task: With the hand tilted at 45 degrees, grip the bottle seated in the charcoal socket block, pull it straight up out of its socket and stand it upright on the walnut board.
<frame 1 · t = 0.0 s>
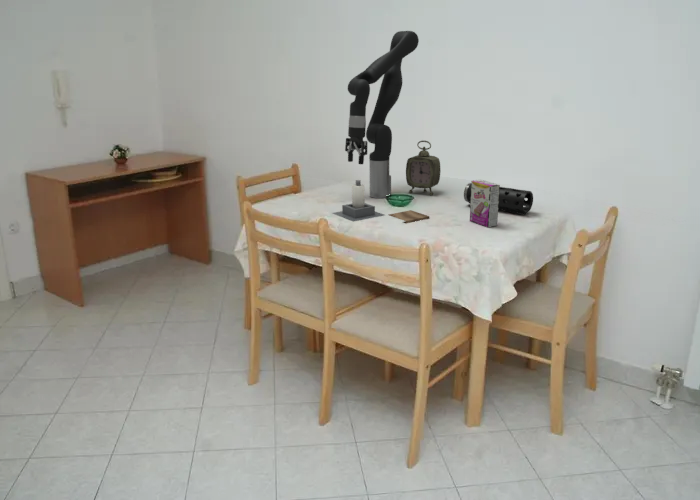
hand: (355, 162, 265), 17 cm above the table, tool pointing down, fingers open, 8 cm apart
candy bar box: (483, 224, 230), on the table
walnut board: (408, 217, 240), on the table
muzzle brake: (496, 210, 250), on the table
bottle: (358, 214, 243), point 1 cm above the table, touching socket block
socket block: (358, 216, 244), on the table
tabletop clock: (423, 193, 281), on the table
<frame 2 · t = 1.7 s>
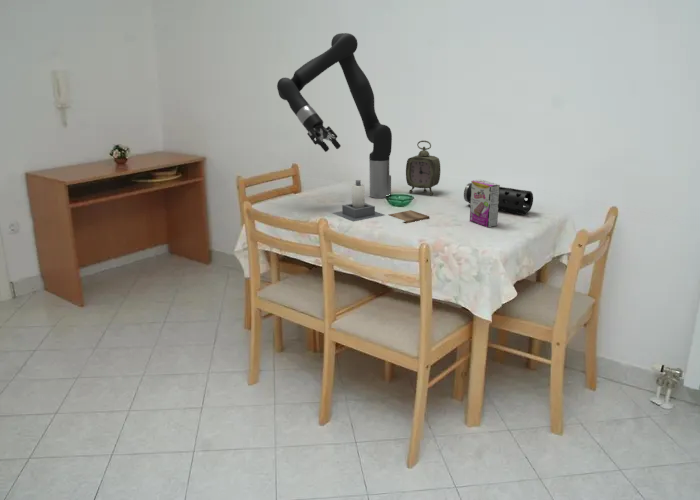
hand: (333, 149, 241), 27 cm above the table, tool tilted 45°, fingers open, 8 cm apart
nothing on the table moved.
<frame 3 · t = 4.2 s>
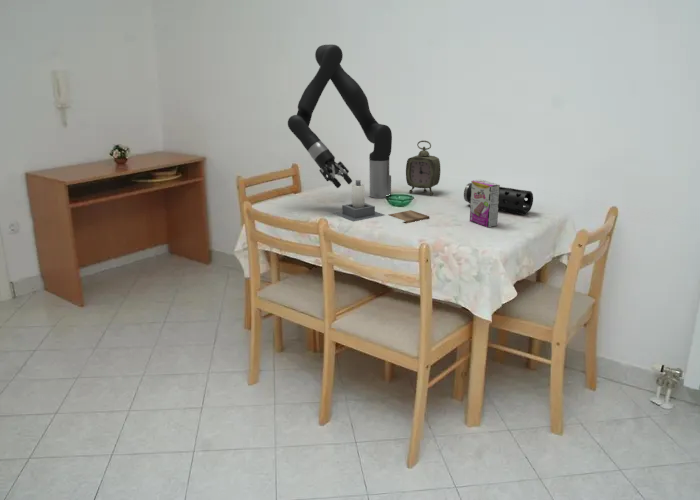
hand: (345, 184, 243), 13 cm above the table, tool tilted 45°, fingers open, 8 cm apart
nothing on the table moved.
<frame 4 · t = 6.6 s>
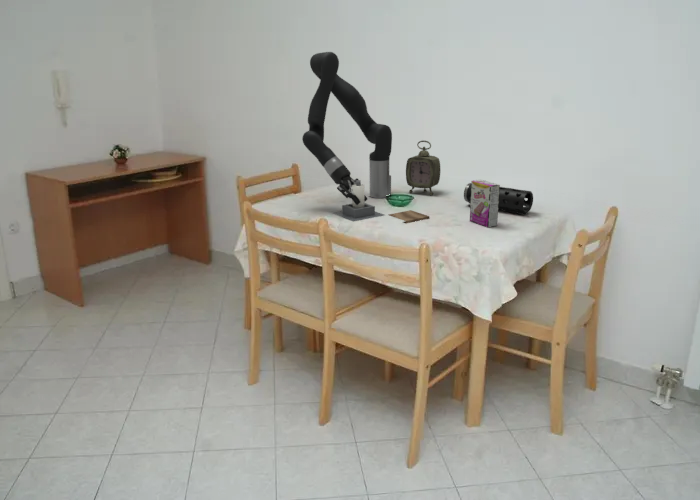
hand: (362, 201, 241), 6 cm above the table, tool tilted 45°, fingers closed on bottle, 5 cm apart
bottle: (358, 214, 243), point 1 cm above the table, touching gripper, socket block
everything else where it was.
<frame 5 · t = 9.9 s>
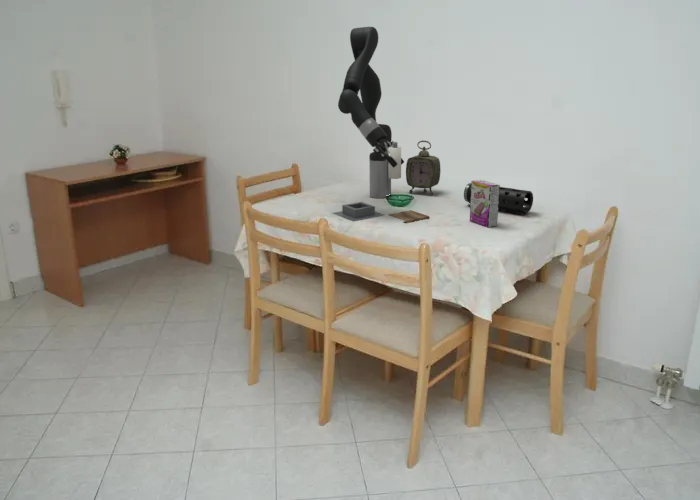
hand: (398, 164, 233), 22 cm above the table, tool tilted 45°, fingers closed on bottle, 5 cm apart
bottle: (394, 177, 236), point 17 cm above the table, touching gripper
everything else where it was.
when the fingers open (8 cm above the table, at t = 13.5 s): bottle drops 1 cm, resting on walnut board.
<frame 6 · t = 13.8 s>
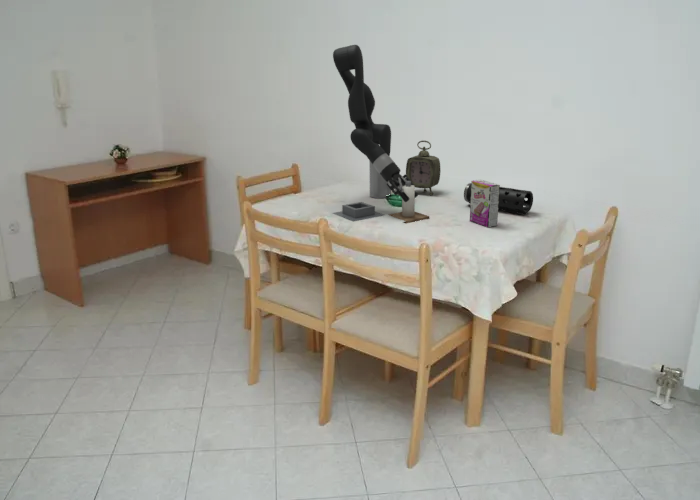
hand: (412, 198, 237), 8 cm above the table, tool tilted 45°, fingers open, 7 cm apart
bottle: (408, 215, 240), point 1 cm above the table, touching walnut board
everything else where it was.
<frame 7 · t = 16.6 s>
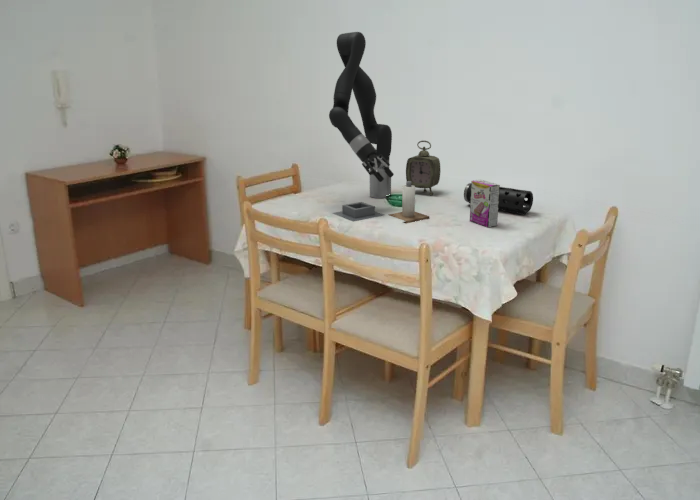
hand: (387, 178, 240), 15 cm above the table, tool tilted 45°, fingers open, 8 cm apart
nothing on the table moved.
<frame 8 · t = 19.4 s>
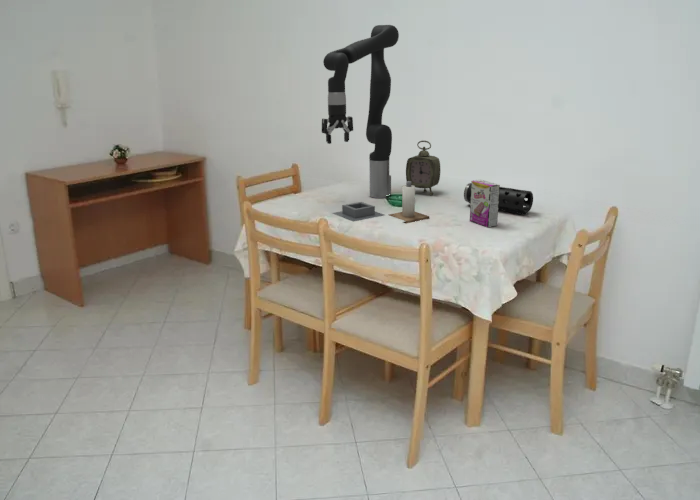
hand: (337, 142, 250), 28 cm above the table, tool pointing down, fingers open, 8 cm apart
nothing on the table moved.
at the end: bottle inside the target area on the walnut board (0.1 cm from its centre), point 1.0 cm above the walnut board's base; bottle tilted 0°; the gripper is holding nothing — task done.
